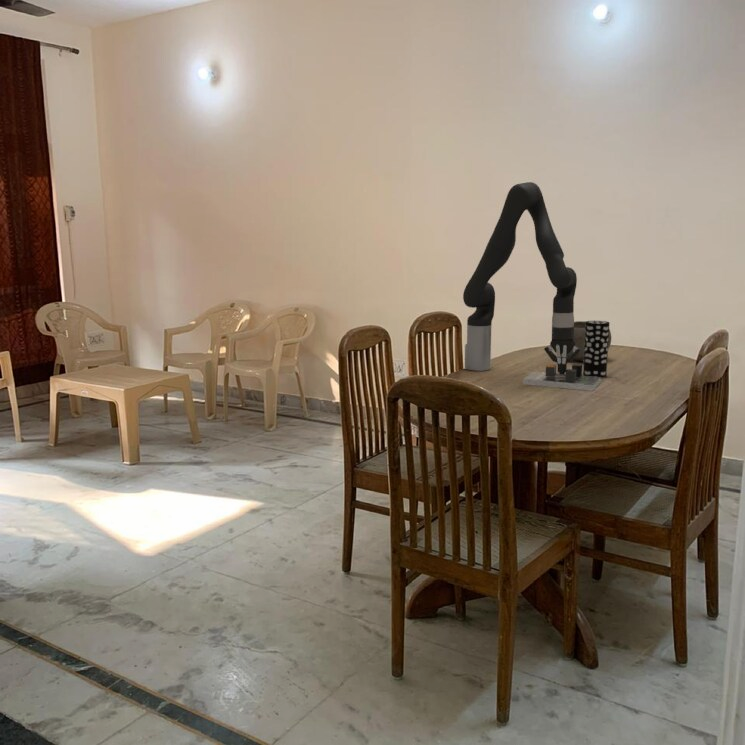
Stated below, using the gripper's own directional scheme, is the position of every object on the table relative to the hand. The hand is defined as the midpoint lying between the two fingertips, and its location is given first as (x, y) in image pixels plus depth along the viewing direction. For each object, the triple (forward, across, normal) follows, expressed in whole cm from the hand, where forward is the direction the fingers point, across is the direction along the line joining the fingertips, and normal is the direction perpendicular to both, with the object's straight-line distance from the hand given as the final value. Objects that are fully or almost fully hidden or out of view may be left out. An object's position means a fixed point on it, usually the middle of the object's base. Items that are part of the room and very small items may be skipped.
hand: (562, 373), depth 271 cm
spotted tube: (+4, +8, +18) cm, 20 cm away
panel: (+4, 0, 0) cm, 4 cm away
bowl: (+4, -2, +48) cm, 48 cm away
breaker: (+1, -4, 0) cm, 4 cm away
